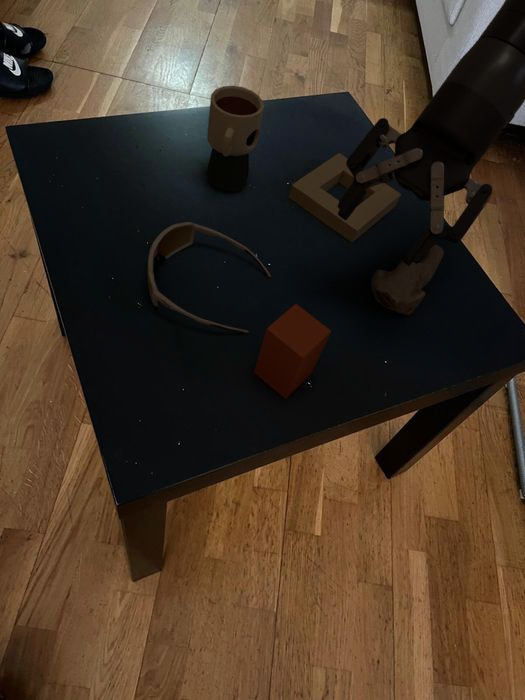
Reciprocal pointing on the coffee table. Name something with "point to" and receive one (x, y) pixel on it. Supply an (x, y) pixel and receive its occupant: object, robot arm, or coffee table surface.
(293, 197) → the base pad
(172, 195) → the coffee table surface
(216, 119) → the character mug
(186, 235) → the sunglasses
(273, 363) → the post
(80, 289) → the coffee table surface
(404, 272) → the sculpture
